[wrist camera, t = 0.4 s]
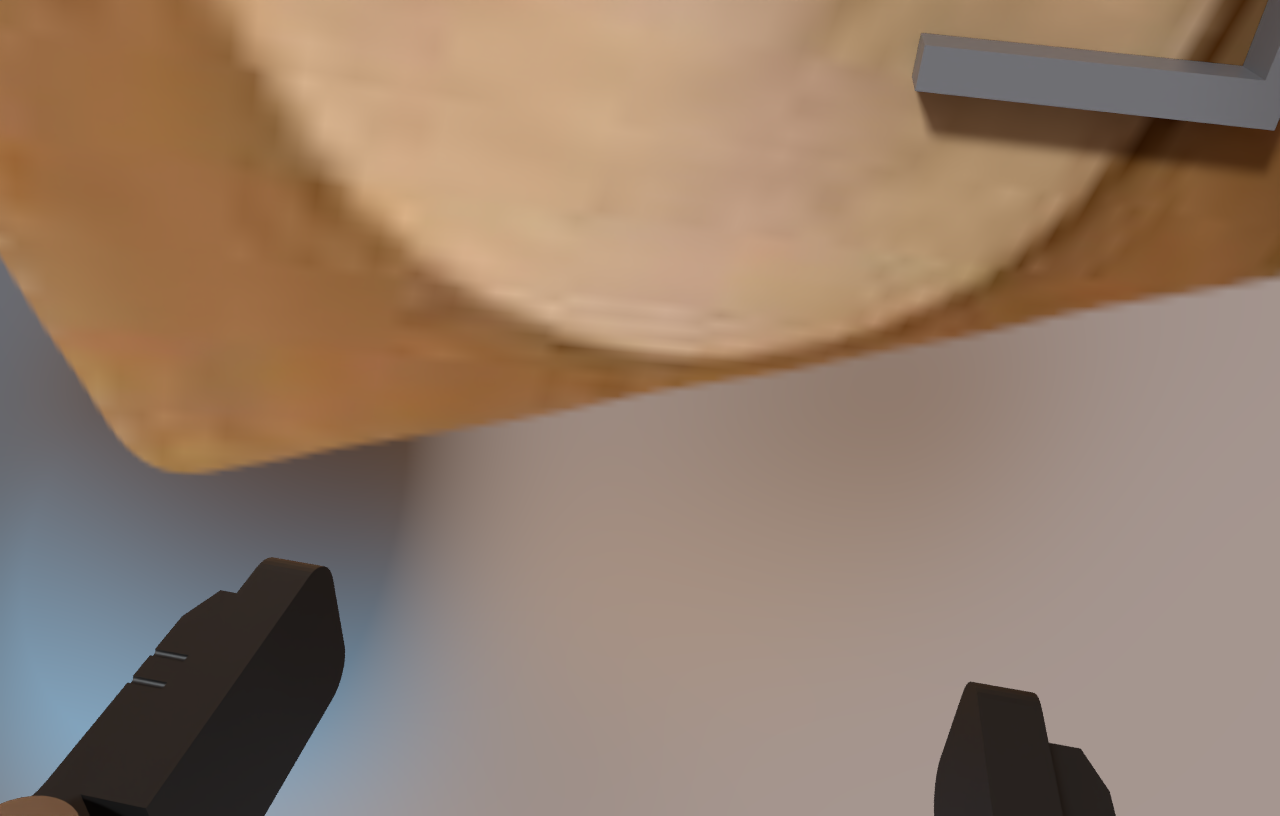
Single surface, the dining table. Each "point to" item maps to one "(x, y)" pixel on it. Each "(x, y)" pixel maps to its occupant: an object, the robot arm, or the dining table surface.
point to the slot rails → (1110, 78)
